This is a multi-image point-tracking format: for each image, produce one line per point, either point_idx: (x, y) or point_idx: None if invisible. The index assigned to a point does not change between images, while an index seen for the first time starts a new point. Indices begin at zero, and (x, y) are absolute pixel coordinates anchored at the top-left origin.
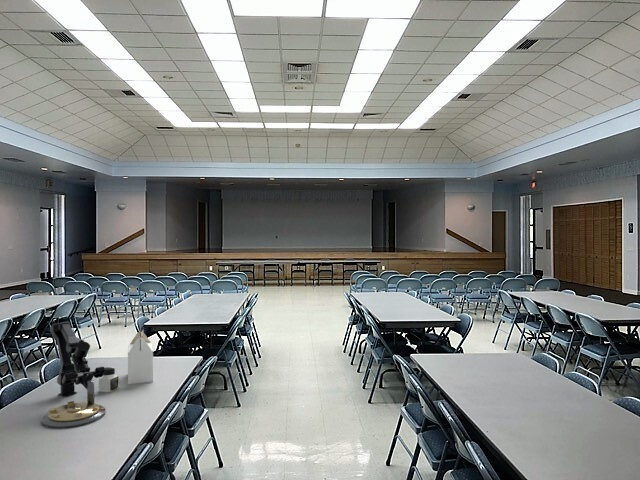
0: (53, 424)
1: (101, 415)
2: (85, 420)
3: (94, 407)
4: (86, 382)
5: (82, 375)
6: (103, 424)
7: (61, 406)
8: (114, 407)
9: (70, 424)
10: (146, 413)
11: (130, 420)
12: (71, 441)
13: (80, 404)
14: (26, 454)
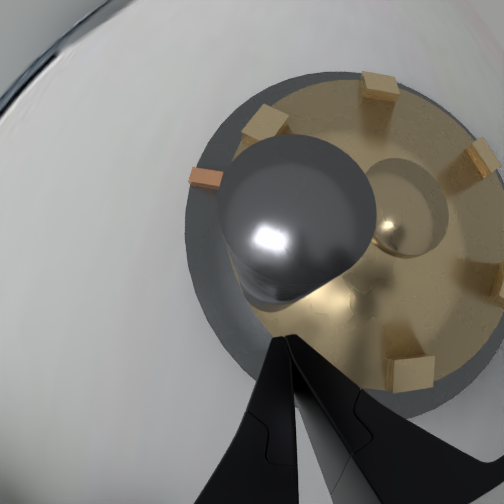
0: (469, 132)
1: (243, 107)
2: (336, 77)
3: (276, 123)
4: (339, 396)
5: (468, 497)
6: (258, 47)
7: (460, 353)
8: (119, 249)
9: (401, 85)
10: (68, 83)
11: (151, 41)
12: (379, 10)
13: (348, 322)
14: (470, 31)
